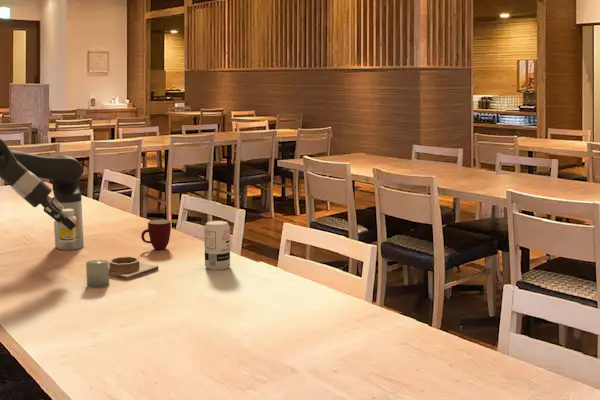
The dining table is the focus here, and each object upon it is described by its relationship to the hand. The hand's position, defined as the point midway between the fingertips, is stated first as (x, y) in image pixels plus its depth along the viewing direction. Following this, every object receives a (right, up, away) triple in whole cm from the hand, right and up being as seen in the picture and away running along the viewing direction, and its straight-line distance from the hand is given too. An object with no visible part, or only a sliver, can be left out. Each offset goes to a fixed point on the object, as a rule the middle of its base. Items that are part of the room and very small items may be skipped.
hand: (74, 225), depth 219 cm
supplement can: (+43, -14, +13) cm, 47 cm away
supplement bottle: (-2, -5, 0) cm, 5 cm away
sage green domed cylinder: (+10, -18, -7) cm, 21 cm away
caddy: (+14, -15, +7) cm, 22 cm away
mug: (+18, -10, +36) cm, 41 cm away
